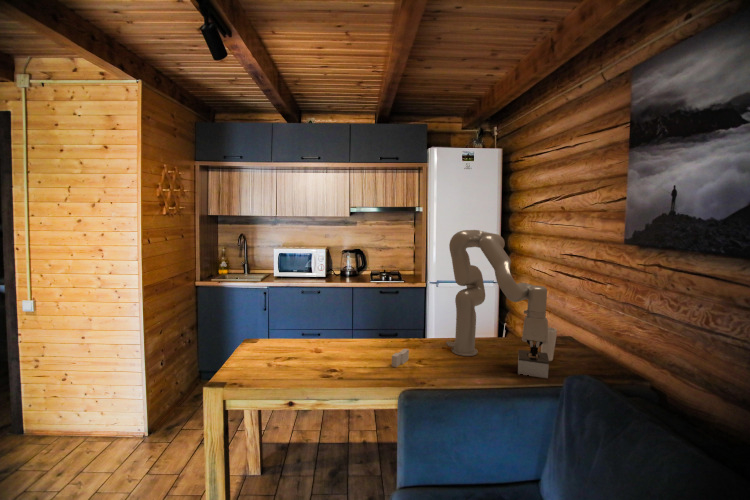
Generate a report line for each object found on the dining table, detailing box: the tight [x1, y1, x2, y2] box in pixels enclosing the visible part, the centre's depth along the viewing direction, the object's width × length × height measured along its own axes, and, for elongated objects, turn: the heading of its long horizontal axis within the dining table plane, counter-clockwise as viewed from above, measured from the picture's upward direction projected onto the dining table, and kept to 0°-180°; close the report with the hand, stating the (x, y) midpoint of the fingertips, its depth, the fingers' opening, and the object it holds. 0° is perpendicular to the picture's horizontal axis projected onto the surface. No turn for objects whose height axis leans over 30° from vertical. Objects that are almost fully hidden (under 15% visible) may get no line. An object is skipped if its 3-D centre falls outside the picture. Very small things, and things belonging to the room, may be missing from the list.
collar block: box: [517, 349, 550, 379], centre depth 184 cm, size 12×12×7 cm
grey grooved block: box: [391, 348, 410, 368], centre depth 190 cm, size 15×11×6 cm
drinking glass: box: [540, 326, 558, 362], centre depth 198 cm, size 7×7×15 cm
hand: (533, 355), depth 184 cm, fingers closed
